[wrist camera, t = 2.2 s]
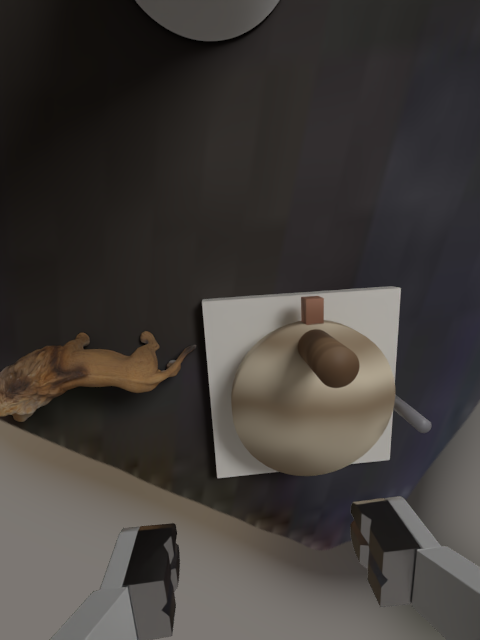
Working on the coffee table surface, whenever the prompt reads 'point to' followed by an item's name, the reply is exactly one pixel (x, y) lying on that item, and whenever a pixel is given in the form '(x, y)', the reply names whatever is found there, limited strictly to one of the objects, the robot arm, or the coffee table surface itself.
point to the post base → (266, 316)
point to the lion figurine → (79, 373)
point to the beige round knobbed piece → (312, 395)
